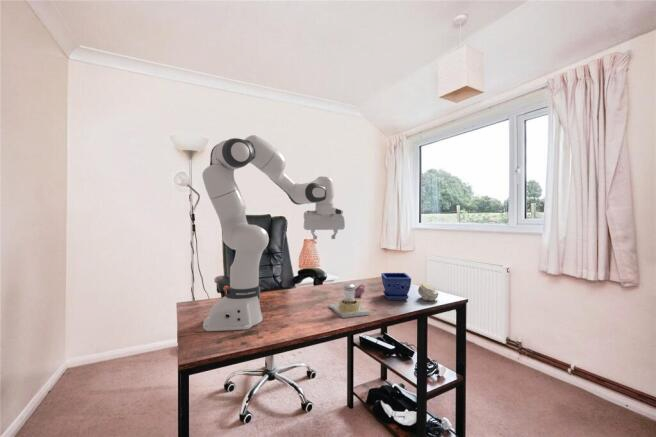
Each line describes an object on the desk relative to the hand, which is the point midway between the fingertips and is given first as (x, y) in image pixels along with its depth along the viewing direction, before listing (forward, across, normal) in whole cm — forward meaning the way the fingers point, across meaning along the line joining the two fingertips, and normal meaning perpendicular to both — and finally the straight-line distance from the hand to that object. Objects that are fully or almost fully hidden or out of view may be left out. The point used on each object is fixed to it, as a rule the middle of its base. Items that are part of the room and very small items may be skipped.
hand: (324, 239), depth 138 cm
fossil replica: (+31, +52, -12) cm, 62 cm away
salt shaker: (+30, +7, -14) cm, 34 cm away
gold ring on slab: (+31, +7, -14) cm, 35 cm away
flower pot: (+31, +38, -4) cm, 49 cm away
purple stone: (+31, +23, +7) cm, 39 cm away
